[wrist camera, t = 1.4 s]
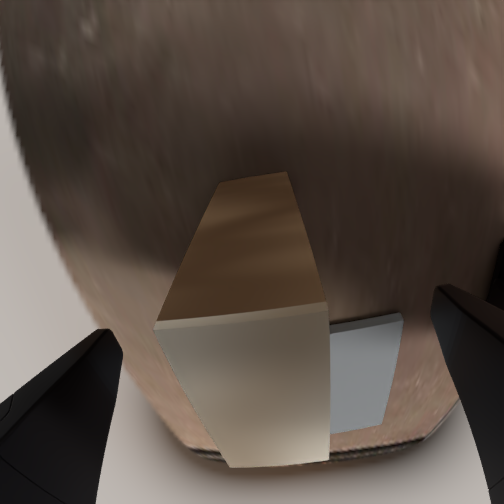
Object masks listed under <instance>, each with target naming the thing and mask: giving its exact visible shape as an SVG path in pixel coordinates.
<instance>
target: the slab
mask: <svg viewBox="0 0 504 504" xmlns="http://www.w3.org/2000/svg"><path fill="white" fill-rule="evenodd" d="M153 331H154V333H155V335H156V338H157V340H158V342H159V344H160V346H161V348H162V350H163V352H164V354H165V356H166V358H167V360H168V362H169V364H170V366H171V368H172V370H173V372H174V373H175V375H176V377H177V379H178V381H179V383H180V385H181V387H182V388H183V390H184V392H185V394H186V396H187V398H188V399H189V401H190V403H191V405H192V406H193V408H194V410H195V412H196V413H197V415H198V417H199V419H200V420H201V422H202V424H203V425H204V427H205V429H206V430H207V432H208V434H209V435H210V437H211V438H212V440H213V442H214V443H215V445H216V446H217V448H218V450H219V451H220V453H221V454H222V456H223V457H224V459H225V460H226V462H227V463H228V465H229V466H230V468H232V467H264V466H279V465H291V464H301V463H309V462H317V461H324V460H329V444H330V391H331V385H330V330H329V310H328V306H327V302H326V298H325V295H324V291H323V288H322V284H321V281H320V277H319V274H318V270H317V267H316V263H315V260H314V256H313V253H312V250H311V246H310V243H309V240H308V236H307V233H306V230H305V227H304V223H303V220H302V217H301V214H300V211H299V208H298V204H297V201H296V198H295V195H294V192H293V189H292V186H291V183H290V180H289V177H288V174H287V171H285V172H278V173H272V174H265V175H259V176H253V177H247V178H241V179H235V180H230V181H224V182H219V184H218V186H217V188H216V190H215V192H214V194H213V196H212V198H211V201H210V203H209V205H208V207H207V209H206V211H205V213H204V215H203V217H202V219H201V221H200V224H199V226H198V228H197V230H196V232H195V234H194V236H193V239H192V241H191V243H190V245H189V247H188V250H187V252H186V254H185V256H184V258H183V261H182V263H181V265H180V267H179V270H178V272H177V274H176V276H175V279H174V281H173V283H172V286H171V288H170V290H169V293H168V295H167V297H166V300H165V302H164V304H163V307H162V309H161V311H160V314H159V316H158V319H157V321H156V324H155V326H154V328H153Z"/></svg>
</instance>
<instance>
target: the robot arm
mask: <svg viewBox="0 0 504 504" xmlns="http://www.w3.org/2000/svg"><path fill="white" fill-rule="evenodd" d="M431 319H432V322H433V325H434V328H435V331H436V334H437V337H438V340H439V343H440V346H441V349H442V353H443V356H444V359H445V362H446V365H447V367H448V370H449V372H450V375H451V377H452V380H453V382H454V385H455V387H456V390H457V392H458V395H459V397H460V400H461V403H462V405H463V408H464V411H465V414H466V416H467V419H468V422H469V425H470V428H471V431H472V434H473V437H474V440H475V443H476V446H477V450H478V453H479V456H480V460H481V463H482V467H483V471H484V474H485V478H486V482H487V486H488V489H489V496H490V500H491V504H504V241H503V242H502V244H501V245H500V249H499V254H498V259H497V263H496V268H495V272H494V277H493V281H492V285H491V289H490V292H489V296H488V300H487V302H485V301H484V300H482V299H480V298H478V297H476V296H474V295H472V294H470V293H468V292H466V291H464V290H461V289H459V288H457V287H455V286H453V285H451V284H444V285H439V286H437V287H436V288H435V290H434V295H433V300H432V306H431ZM122 360H123V351H122V348H121V346H120V345H119V343H118V341H117V339H116V337H115V336H114V334H113V332H112V331H111V330H110V329H97V330H95V331H94V332H93V333H91V334H90V335H89V336H88V337H86V338H85V339H84V340H82V341H81V342H79V343H78V344H77V345H76V346H74V347H73V348H71V349H70V350H69V351H68V352H66V353H65V354H64V355H62V356H61V357H60V358H58V359H57V360H56V361H54V362H53V363H52V364H50V365H49V366H48V367H47V368H45V369H44V370H43V371H42V372H40V373H39V374H38V375H36V376H35V377H34V378H32V379H31V380H30V381H28V382H27V383H26V384H25V385H23V386H22V387H21V388H20V389H18V390H17V391H16V392H15V393H14V394H12V395H11V396H9V397H8V398H7V399H6V400H4V401H3V402H2V403H0V504H96V497H97V490H98V485H99V479H100V474H101V467H102V463H103V458H104V452H105V448H106V443H107V438H108V434H109V429H110V425H111V420H112V416H113V412H114V407H115V403H116V398H117V392H118V385H119V378H120V371H121V366H122Z"/></svg>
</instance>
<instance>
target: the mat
mask: <svg viewBox="0 0 504 504" xmlns="http://www.w3.org/2000/svg"><path fill="white" fill-rule="evenodd" d="M403 322H404V319H403V317H402V315H401V314H400V312H399V313H394V314H389V315H384V316H379V317H374V318H369V319H363V320H358V321H352V322H347V323H341V324H335V325H329V330H330V385H331V391H330V434H334V433H340V432H345V431H351V430H356V429H361V428H366V427H371V426H375V425H379V424H382V420H383V417H384V413H385V409H386V405H387V401H388V397H389V393H390V389H391V385H392V381H393V376H394V371H395V367H396V362H397V357H398V352H399V346H400V341H401V335H402V329H403Z"/></svg>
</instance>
